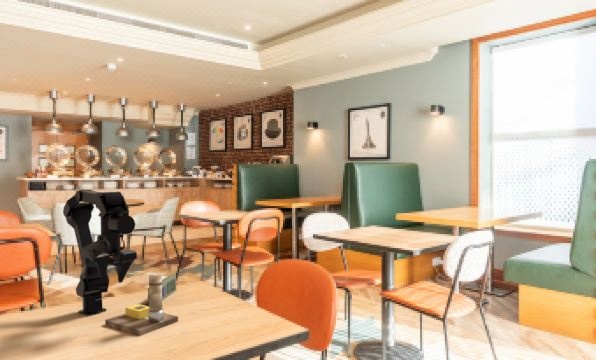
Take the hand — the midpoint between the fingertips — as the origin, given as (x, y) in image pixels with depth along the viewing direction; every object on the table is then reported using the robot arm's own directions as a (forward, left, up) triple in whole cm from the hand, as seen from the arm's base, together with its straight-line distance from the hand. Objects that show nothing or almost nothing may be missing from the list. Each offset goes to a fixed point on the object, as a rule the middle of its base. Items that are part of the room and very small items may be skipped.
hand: (111, 280), depth 136 cm
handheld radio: (-6, +23, -14) cm, 27 cm away
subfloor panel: (+9, +4, -13) cm, 17 cm away
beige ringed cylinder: (+15, +5, -11) cm, 19 cm away
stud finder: (+6, +5, -11) cm, 14 cm away
